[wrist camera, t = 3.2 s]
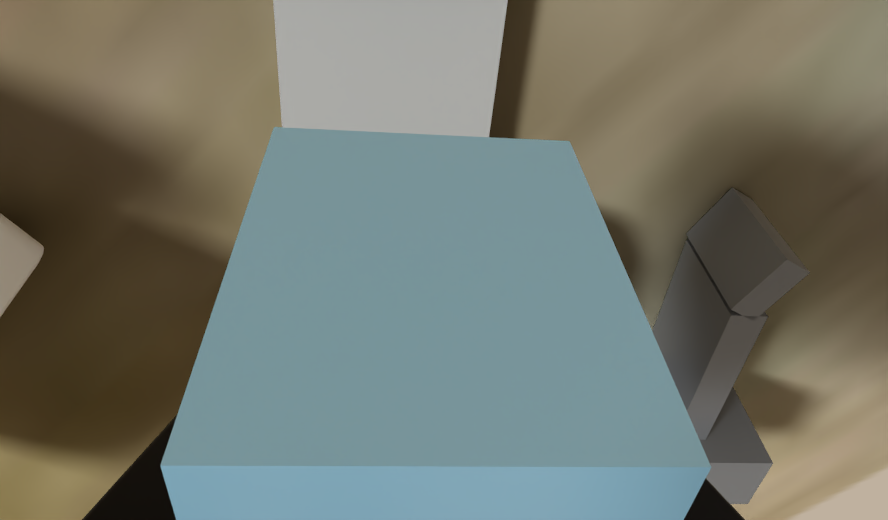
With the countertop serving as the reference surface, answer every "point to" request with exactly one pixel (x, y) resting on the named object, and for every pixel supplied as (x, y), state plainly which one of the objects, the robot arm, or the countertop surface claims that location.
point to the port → (724, 331)
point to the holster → (389, 64)
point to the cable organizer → (15, 260)
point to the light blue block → (428, 346)
